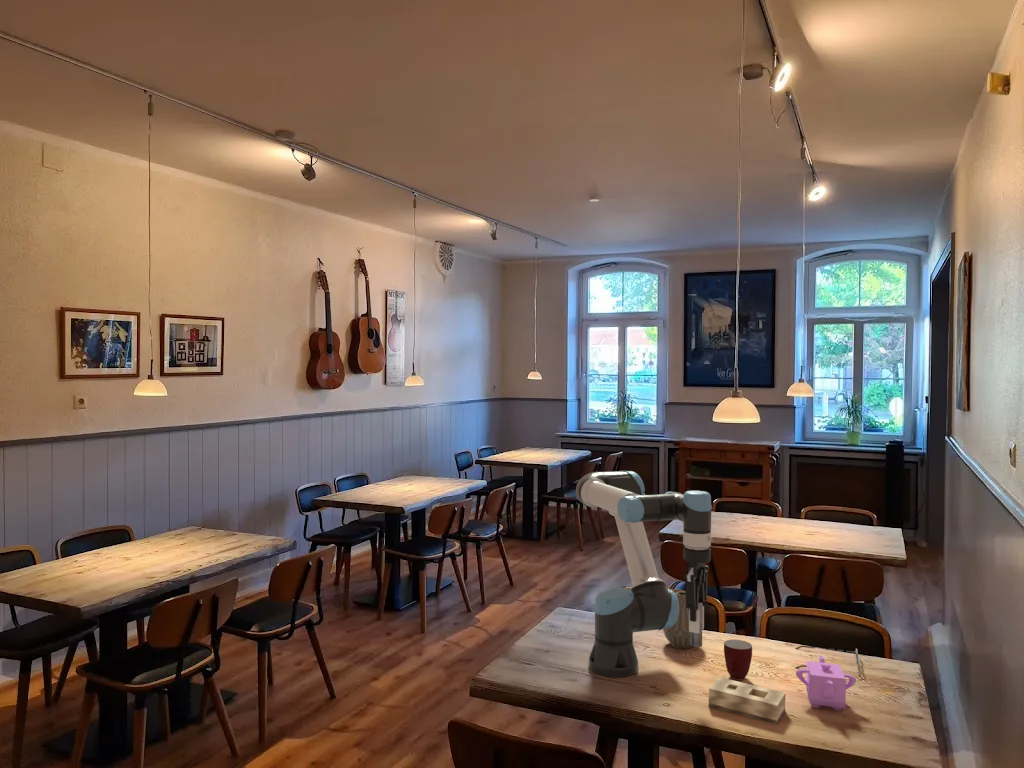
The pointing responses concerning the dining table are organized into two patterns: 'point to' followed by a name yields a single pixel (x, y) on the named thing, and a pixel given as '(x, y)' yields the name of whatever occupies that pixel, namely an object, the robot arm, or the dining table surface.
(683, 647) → the vase
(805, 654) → the dining table surface
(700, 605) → the pin
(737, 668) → the mug
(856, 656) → the eyeglasses
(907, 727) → the dining table surface
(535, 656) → the dining table surface
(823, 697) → the teapot
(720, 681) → the block
